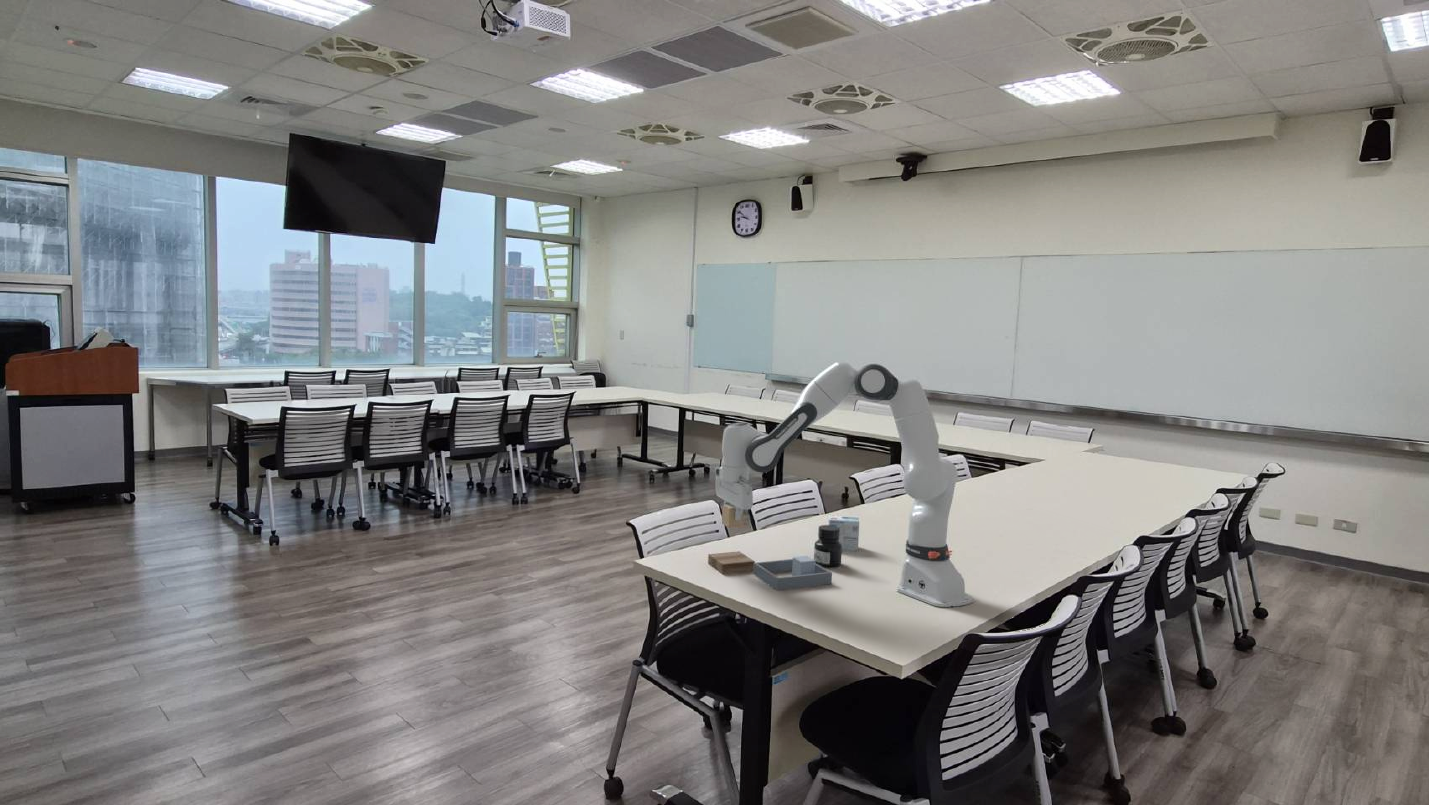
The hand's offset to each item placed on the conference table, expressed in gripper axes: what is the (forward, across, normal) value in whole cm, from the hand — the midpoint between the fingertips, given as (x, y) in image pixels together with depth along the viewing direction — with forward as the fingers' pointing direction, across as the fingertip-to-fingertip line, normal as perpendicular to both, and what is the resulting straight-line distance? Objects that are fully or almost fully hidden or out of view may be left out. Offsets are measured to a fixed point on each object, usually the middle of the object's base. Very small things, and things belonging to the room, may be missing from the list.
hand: (732, 517), depth 246 cm
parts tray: (+16, -16, -13) cm, 26 cm away
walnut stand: (+16, 0, 0) cm, 16 cm away
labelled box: (+3, 0, 0) cm, 3 cm away
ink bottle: (+16, -6, -32) cm, 36 cm away
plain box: (+16, -16, -17) cm, 28 cm away
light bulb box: (+16, +8, -47) cm, 50 cm away
